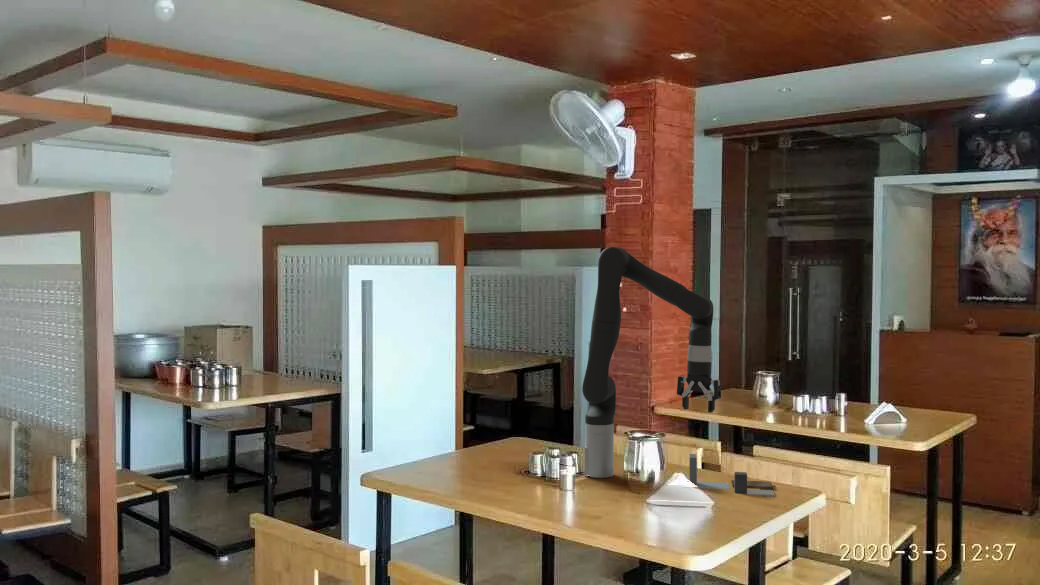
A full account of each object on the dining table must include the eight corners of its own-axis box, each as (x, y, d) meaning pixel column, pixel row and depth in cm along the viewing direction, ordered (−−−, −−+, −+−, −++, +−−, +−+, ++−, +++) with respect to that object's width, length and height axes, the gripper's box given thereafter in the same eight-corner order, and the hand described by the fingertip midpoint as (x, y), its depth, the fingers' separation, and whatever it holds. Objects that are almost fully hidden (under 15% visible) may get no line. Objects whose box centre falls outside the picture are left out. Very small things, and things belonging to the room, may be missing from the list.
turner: (734, 490, 271) (734, 470, 271) (772, 492, 269) (772, 472, 269) (735, 495, 265) (735, 475, 265) (774, 496, 263) (774, 476, 263)
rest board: (732, 488, 274) (732, 485, 273) (731, 483, 280) (731, 480, 280) (773, 490, 271) (773, 486, 271) (770, 484, 278) (770, 481, 278)
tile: (689, 486, 274) (689, 457, 274) (689, 482, 280) (689, 453, 280) (696, 487, 274) (696, 457, 274) (696, 482, 280) (696, 454, 280)
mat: (683, 488, 274) (683, 487, 274) (683, 482, 282) (683, 481, 282) (729, 490, 271) (729, 489, 271) (728, 484, 279) (728, 483, 279)
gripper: (673, 358, 283) (672, 409, 283) (714, 362, 274) (713, 414, 274) (685, 357, 288) (683, 407, 289) (725, 360, 280) (724, 412, 280)
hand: (698, 410), depth 282 cm, fingers open, 8 cm apart
